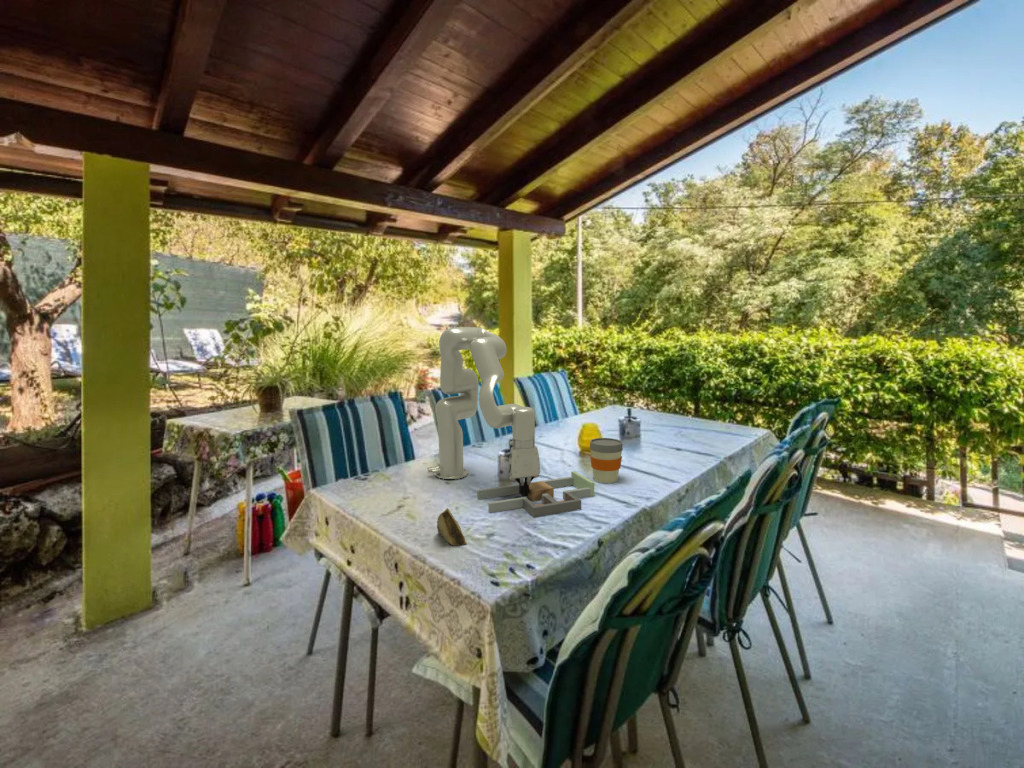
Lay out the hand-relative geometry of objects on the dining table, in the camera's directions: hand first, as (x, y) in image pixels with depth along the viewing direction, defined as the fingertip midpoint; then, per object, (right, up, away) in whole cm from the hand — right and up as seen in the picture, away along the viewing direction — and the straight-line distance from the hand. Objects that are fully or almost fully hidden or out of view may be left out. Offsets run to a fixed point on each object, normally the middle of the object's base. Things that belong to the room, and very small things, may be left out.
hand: (524, 495), depth 163 cm
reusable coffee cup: (+32, +1, +20) cm, 38 cm away
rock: (-21, -6, -29) cm, 37 cm away
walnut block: (+5, -2, +4) cm, 6 cm away
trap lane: (+6, -2, -2) cm, 6 cm away
